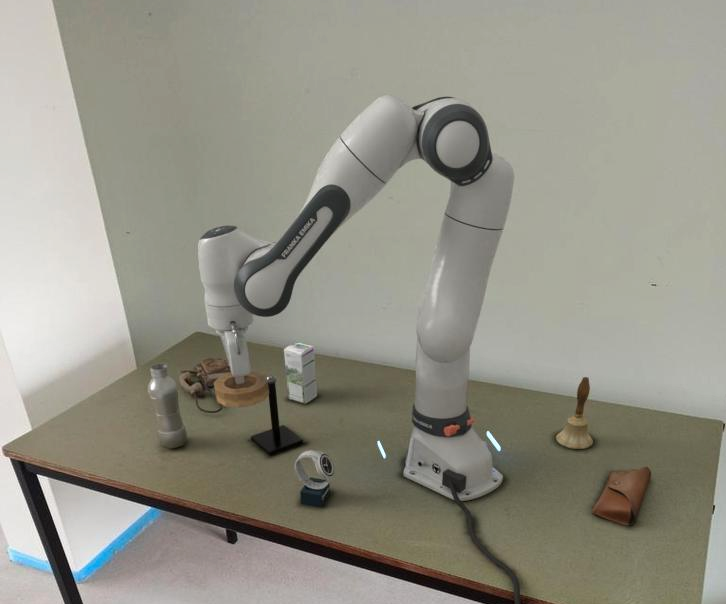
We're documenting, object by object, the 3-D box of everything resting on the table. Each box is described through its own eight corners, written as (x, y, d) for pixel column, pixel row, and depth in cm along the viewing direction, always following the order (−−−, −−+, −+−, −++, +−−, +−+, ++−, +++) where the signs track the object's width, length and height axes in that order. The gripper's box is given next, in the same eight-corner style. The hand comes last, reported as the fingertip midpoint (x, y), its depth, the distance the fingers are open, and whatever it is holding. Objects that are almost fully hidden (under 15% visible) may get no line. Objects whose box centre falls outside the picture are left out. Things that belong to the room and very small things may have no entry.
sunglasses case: (608, 469, 146) (630, 450, 141) (634, 490, 145) (657, 471, 141) (590, 513, 132) (613, 494, 128) (618, 536, 132) (642, 518, 127)
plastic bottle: (181, 452, 155) (166, 373, 144) (154, 450, 156) (137, 371, 146) (192, 438, 161) (179, 361, 150) (166, 436, 162) (151, 359, 151)
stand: (303, 444, 158) (298, 376, 148) (269, 456, 153) (262, 387, 144) (283, 429, 164) (277, 363, 155) (251, 440, 160) (243, 373, 150)
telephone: (194, 420, 168) (192, 405, 166) (173, 370, 194) (171, 356, 191) (253, 411, 173) (252, 396, 171) (224, 364, 199) (223, 350, 197)
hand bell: (558, 429, 162) (568, 368, 153) (594, 435, 159) (606, 373, 151) (553, 446, 155) (563, 383, 147) (590, 452, 153) (603, 388, 144)
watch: (329, 509, 136) (327, 463, 130) (293, 502, 138) (289, 457, 132) (338, 493, 140) (337, 449, 134) (303, 487, 142) (299, 443, 136)
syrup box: (317, 396, 179) (314, 345, 171) (304, 405, 175) (301, 353, 167) (300, 391, 181) (297, 340, 173) (287, 399, 177) (282, 348, 169)
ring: (278, 396, 134) (277, 383, 133) (231, 413, 129) (228, 399, 127) (252, 378, 141) (251, 365, 140) (206, 393, 136) (204, 380, 135)
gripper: (253, 330, 122) (261, 398, 130) (239, 296, 139) (247, 358, 147) (218, 335, 121) (229, 403, 129) (208, 299, 138) (218, 362, 145)
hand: (238, 378), depth 138 cm, fingers closed on ring, 2 cm apart
